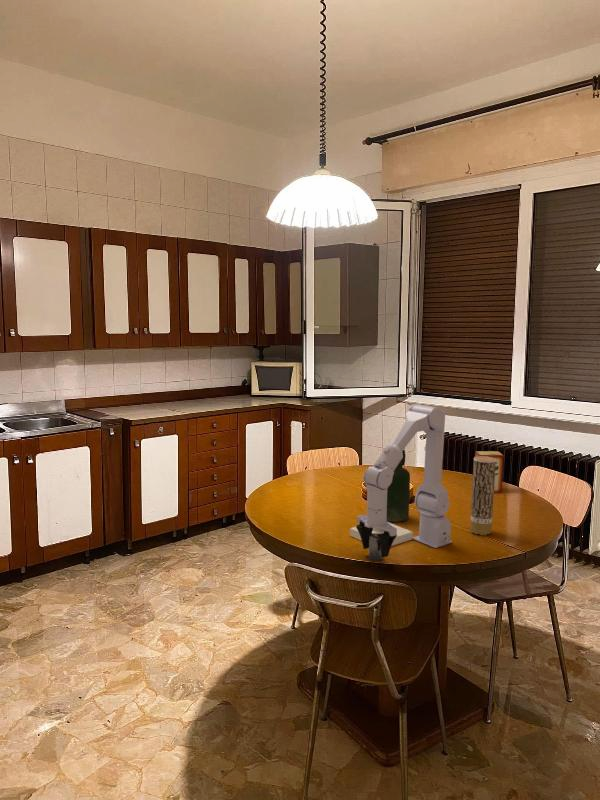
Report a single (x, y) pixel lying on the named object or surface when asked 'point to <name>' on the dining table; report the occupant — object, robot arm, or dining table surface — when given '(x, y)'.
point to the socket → (401, 537)
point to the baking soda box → (498, 467)
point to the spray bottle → (399, 494)
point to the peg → (374, 547)
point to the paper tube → (482, 495)
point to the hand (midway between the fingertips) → (375, 552)
